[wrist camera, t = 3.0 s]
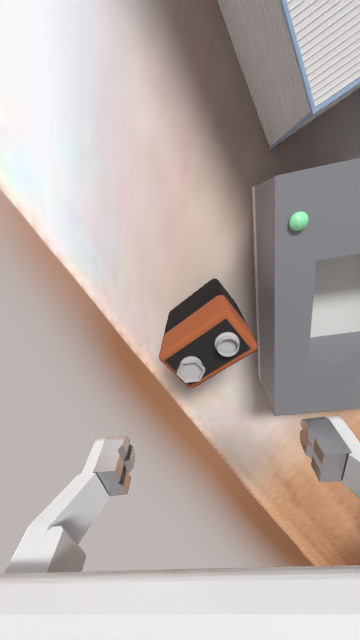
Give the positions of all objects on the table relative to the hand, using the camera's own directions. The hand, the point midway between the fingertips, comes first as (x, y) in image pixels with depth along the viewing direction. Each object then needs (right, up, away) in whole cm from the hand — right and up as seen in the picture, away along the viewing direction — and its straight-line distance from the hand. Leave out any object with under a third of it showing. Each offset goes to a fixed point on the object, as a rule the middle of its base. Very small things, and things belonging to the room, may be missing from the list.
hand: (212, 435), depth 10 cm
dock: (+15, +9, +13) cm, 21 cm away
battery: (+1, +7, +15) cm, 16 cm away
